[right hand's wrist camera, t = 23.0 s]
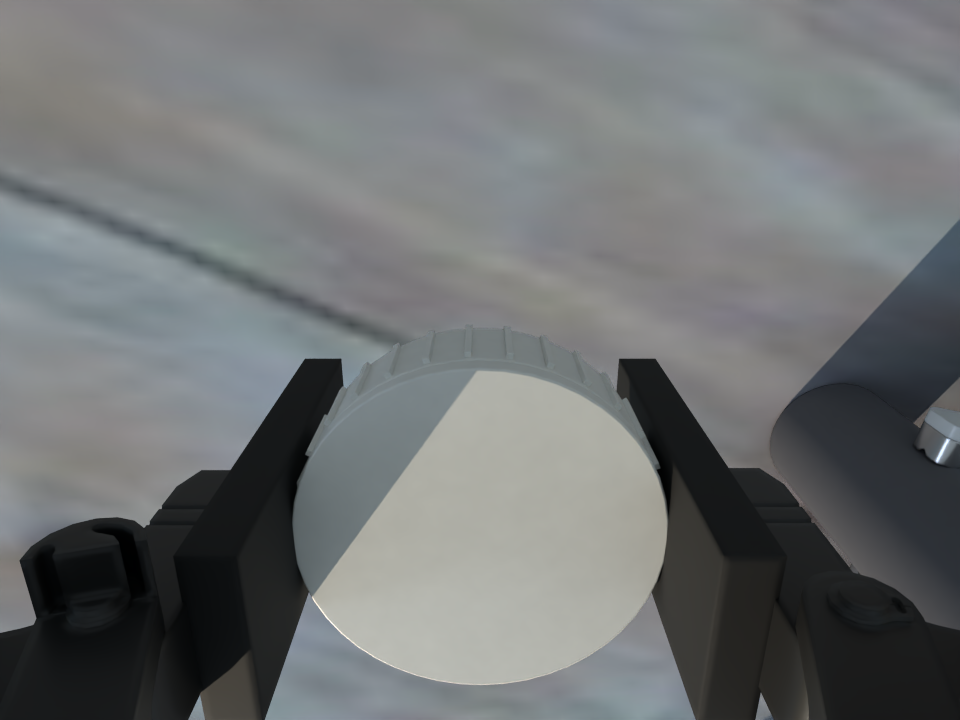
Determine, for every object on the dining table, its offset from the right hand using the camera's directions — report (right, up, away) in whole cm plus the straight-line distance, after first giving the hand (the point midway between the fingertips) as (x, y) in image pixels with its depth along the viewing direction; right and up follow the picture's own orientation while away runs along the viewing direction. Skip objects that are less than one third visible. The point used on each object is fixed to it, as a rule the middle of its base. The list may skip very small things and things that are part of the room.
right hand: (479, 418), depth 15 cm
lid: (0, -1, -4) cm, 4 cm away
